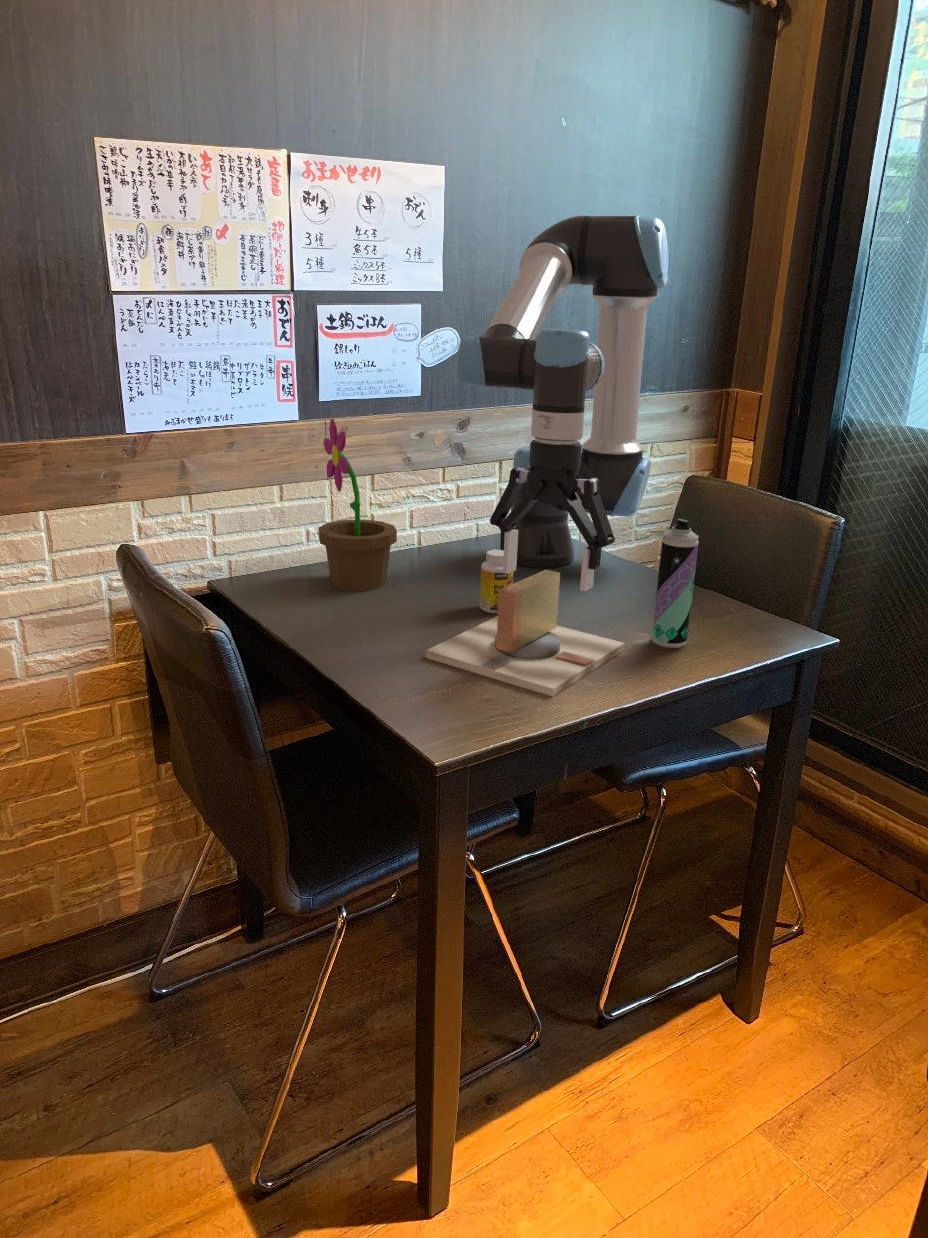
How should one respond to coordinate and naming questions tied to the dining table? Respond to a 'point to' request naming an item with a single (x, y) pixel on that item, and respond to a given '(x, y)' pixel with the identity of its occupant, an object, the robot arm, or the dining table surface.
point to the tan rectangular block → (527, 610)
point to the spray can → (675, 586)
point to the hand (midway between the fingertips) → (547, 580)
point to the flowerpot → (354, 532)
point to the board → (528, 657)
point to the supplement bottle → (493, 580)
